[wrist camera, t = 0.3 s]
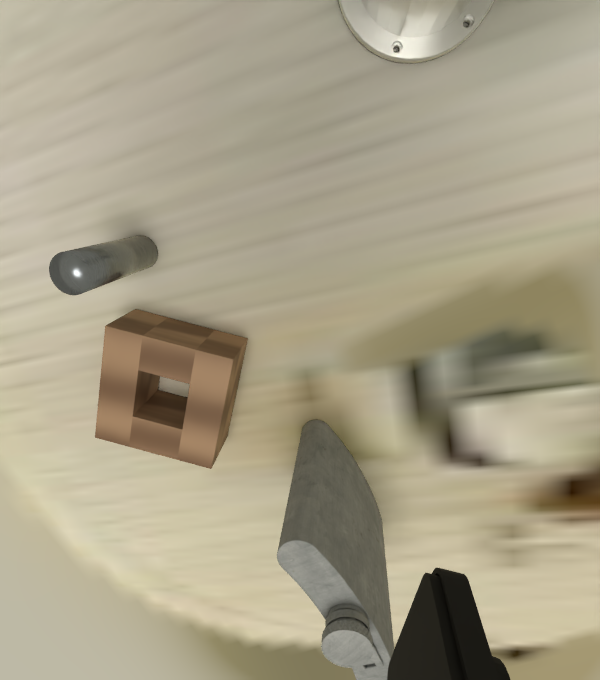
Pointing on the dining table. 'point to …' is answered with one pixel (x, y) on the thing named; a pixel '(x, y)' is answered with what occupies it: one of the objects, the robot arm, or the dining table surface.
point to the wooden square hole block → (161, 407)
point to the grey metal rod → (101, 263)
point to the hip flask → (339, 552)
